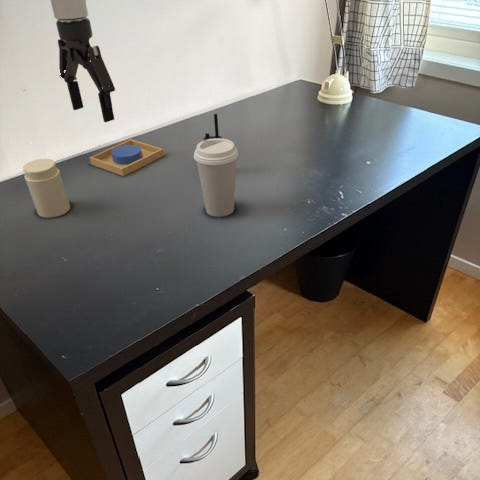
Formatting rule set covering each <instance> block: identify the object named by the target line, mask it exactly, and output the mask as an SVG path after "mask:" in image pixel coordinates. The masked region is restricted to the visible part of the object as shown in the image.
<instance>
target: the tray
mask: <svg viewBox="0 0 480 480" xmlns="http://www.w3.org/2000/svg"><path fill="white" fill-rule="evenodd" d="M123 145H136V146H139V147H140V148H141V151H142V156H143V157H142V158H141V159H139V160H137V161H135V162H133V163H131V164H127V165H121V164H117V163H115V162H114V161H113V158H112V153H111V152H112V150H113V149H115V148H117V147H119V146H123ZM164 153H165V152H164V148H161V147H158V146H155V145H151V144H148V143H145V142H141V141H138V140H136V139H135V140H134V139H131V138H130V139H128V140H125V141H123V142H121V143H119V144H117V145H114V146H112V147H110V148H108V149H105V150H103V151H101V152H99V153H97V154H94V155H92V156H90V157H89V161H90V165H91V166H94V167H97V168H99V169H102V170H105V171H108V172H111V173H113V174H117V175H119V176H121V177H125V176H127V175H129V174H131V173H132V172H133V173H134V172H135V171H137V170H139V169H142V167H145V166H146V165H149V164H150V163H153V162H155V161H157V160H159V159H160V158H163V157H164V156H165V154H164Z"/></svg>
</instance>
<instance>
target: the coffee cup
mask: <svg viewBox="0 0 480 480" xmlns="http://www.w3.org/2000/svg"><path fill="white" fill-rule="evenodd" d="M203 140H204V139H203ZM203 140H201V141H200V142H198V143H197V145H196V149H195V150H194V152H193V159H194V161H196V165H197V170H198V177H199V180H200V185H201V192H202V196H203V203H204V208H205V212H206V213H207V215H209V216H211V217H216V218H223V217H227V216H229V215H231V214H232V213H233V212H234V211H235V197H236V175H237V174H236V173H237V159H238V158H239V150H238V149H237V147H236V145H235V143H234V142H233V141H232V140H230V139H226V138H222V139H221V138H214V139H208V140H204V141H203Z"/></svg>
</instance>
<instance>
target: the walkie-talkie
mask: <svg viewBox="0 0 480 480" xmlns="http://www.w3.org/2000/svg"><path fill="white" fill-rule="evenodd" d="M213 122H214V135H210V133H208V132H206V133H205V134H204V135H205V136H204V137H203V140H202V141H204V140H208V139H214V138H221V139H223V137H222V136H221V135H220V134H219V119H218V113H214V114H213Z"/></svg>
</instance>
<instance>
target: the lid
mask: <svg viewBox="0 0 480 480" xmlns="http://www.w3.org/2000/svg"><path fill="white" fill-rule="evenodd" d="M111 153H112V158H113V161H114V162H115V163H117V164H121V165H127V164H131V163H133V162H135V161H137V160H139V159H141V158H142V157H143V156H142V151H141V148H140V147H139V146H136V145H123V146H119V147H117V148H115V149H113V150H112V152H111Z"/></svg>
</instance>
